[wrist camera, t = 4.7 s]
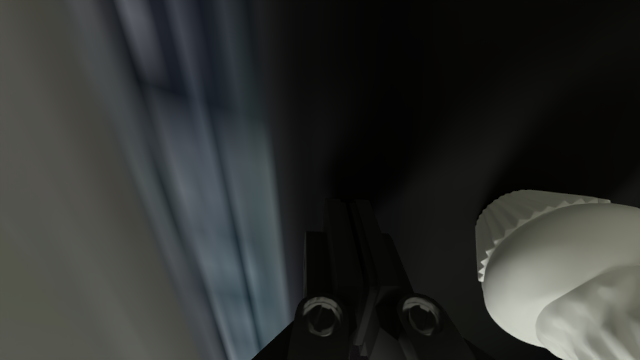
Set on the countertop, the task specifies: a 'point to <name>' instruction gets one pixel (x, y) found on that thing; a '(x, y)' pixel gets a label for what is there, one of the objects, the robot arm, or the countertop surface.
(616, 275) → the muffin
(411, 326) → the robot arm
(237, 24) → the countertop surface
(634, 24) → the countertop surface
